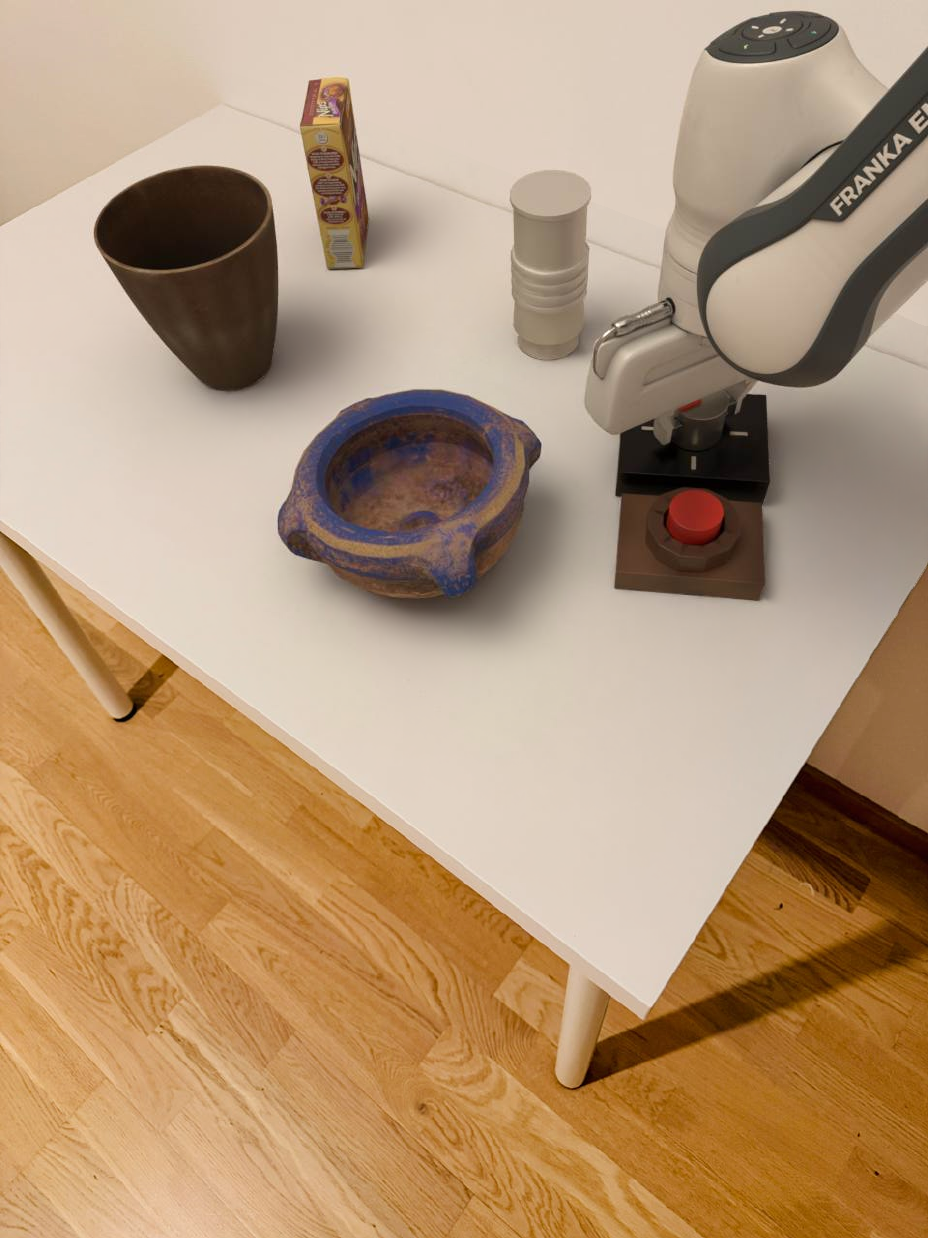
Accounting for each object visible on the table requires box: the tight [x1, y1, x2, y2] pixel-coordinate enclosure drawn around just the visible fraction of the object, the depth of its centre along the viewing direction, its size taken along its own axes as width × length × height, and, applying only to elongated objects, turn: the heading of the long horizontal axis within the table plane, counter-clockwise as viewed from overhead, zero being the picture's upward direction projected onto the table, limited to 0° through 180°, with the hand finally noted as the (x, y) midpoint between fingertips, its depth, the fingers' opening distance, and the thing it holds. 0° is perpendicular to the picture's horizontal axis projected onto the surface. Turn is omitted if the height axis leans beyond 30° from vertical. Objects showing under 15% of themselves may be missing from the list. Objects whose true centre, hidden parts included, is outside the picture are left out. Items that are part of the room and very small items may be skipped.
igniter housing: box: [613, 487, 766, 601], centre depth 70 cm, size 11×8×4 cm
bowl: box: [277, 388, 542, 599], centre depth 70 cm, size 18×18×10 cm
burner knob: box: [672, 390, 728, 451], centre depth 74 cm, size 4×4×4 cm
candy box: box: [299, 76, 370, 270], centre depth 92 cm, size 9×4×15 cm, turn 179°
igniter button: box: [667, 490, 724, 545], centre depth 68 cm, size 4×4×2 cm
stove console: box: [614, 393, 771, 507], centre depth 76 cm, size 12×10×3 cm
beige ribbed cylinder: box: [509, 169, 592, 361], centre depth 81 cm, size 7×7×15 cm
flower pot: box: [93, 164, 279, 392], centre depth 82 cm, size 15×15×16 cm
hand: (696, 424), depth 74 cm, fingers closed on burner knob, 4 cm apart
